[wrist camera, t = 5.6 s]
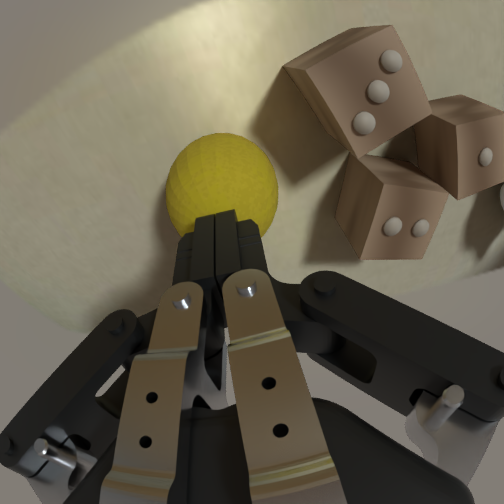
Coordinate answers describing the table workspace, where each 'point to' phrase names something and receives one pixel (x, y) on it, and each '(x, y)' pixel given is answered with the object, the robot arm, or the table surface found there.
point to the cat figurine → (502, 196)
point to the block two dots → (388, 208)
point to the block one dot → (461, 145)
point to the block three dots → (361, 87)
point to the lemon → (221, 182)
